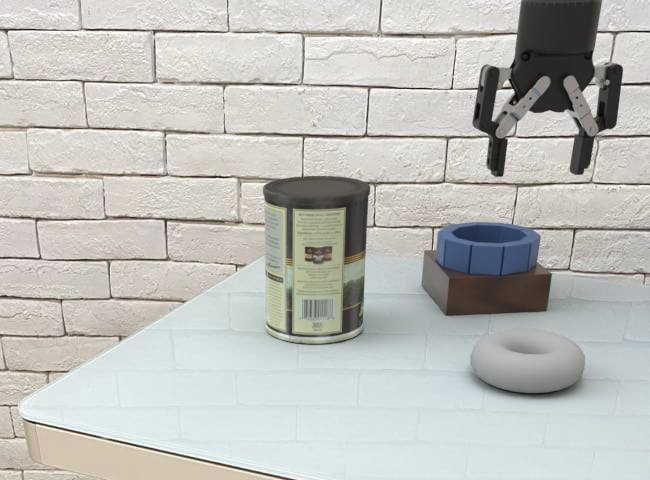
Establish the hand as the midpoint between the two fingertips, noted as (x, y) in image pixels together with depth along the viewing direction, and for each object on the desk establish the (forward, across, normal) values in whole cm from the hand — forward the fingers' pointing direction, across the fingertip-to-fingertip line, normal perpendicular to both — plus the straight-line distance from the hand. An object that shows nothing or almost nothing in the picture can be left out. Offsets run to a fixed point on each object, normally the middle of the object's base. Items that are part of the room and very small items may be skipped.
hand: (536, 174), depth 101 cm
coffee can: (+13, -24, -7) cm, 29 cm away
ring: (+9, -4, 0) cm, 10 cm away
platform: (+13, -4, 0) cm, 14 cm away
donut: (+13, -7, -23) cm, 28 cm away
